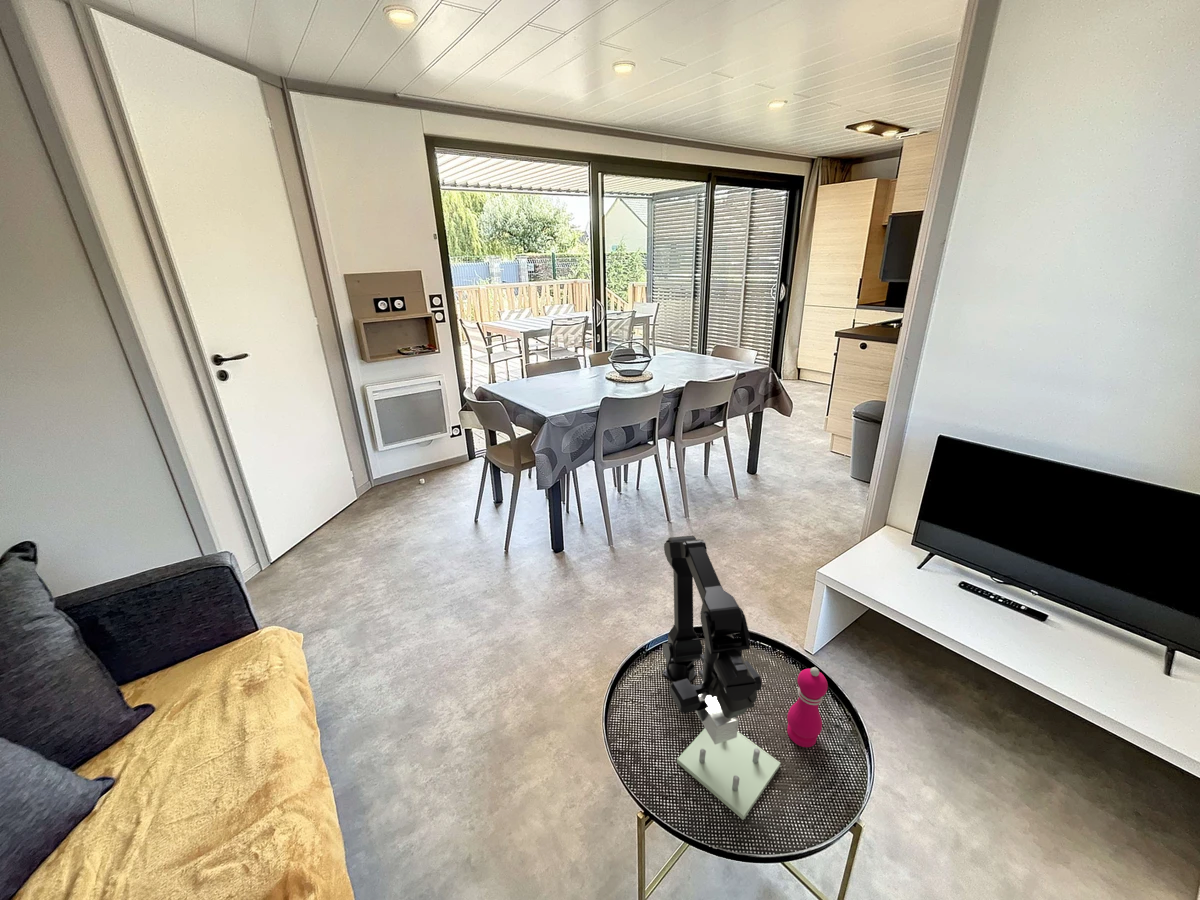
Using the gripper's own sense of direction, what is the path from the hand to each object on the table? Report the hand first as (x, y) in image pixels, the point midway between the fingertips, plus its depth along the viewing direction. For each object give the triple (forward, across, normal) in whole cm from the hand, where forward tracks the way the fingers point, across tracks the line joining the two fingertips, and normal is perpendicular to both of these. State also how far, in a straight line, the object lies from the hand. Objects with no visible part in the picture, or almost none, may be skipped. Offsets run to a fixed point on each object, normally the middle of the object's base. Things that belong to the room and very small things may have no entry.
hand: (712, 715), depth 101 cm
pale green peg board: (+12, +3, -3) cm, 12 cm away
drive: (+1, 0, 0) cm, 1 cm away
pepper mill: (+12, +22, -3) cm, 25 cm away
